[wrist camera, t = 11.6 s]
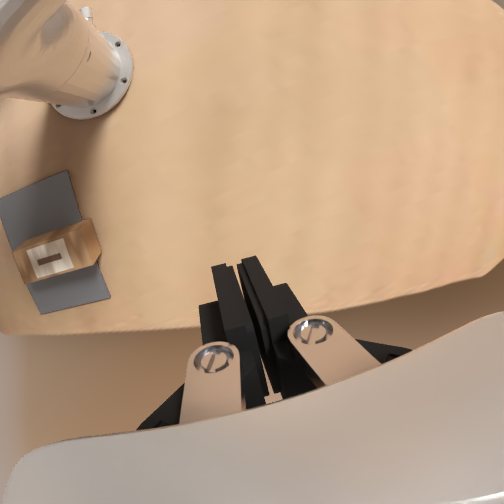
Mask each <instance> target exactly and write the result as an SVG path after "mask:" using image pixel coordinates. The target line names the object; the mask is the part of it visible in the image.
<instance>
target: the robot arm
mask: <svg viewBox="0 0 504 504" xmlns="http://www.w3.org/2000/svg"><path fill="white" fill-rule="evenodd" d="M66 1H67V0H0V98H15V99H24V100H31V101H38V102H45V103H51V104H52V106H53V107H54V108H55V110H56V111H58V112H59V113H60V114H62V115H63V116H66V117H68V118H72V119H79V120H84V119H91V118H95V117H98V116H100V115H102V114H104V113H106V112H107V111H109V110H110V109H112V108H113V107H114V106H115V105H116V104H117V103H118V102H119V101H120V100H121V99H122V97H123V96H124V95H125V93H126V91H127V89H128V87H129V86H130V83H131V80H132V76H133V69H134V68H133V58H132V55H131V52H130V50H129V48H128V46H127V45H126V44H125V43H124V41H122V40H121V39H120V38H119V37H117V36H116V35H114V34H112V33H108V32H101V31H97V29H96V26H95V25H93V23H92V19H93V14H92V8H91V7H85V8H82V9H80V10H78V9H77V8H76V7H75V6H73V5H72V4H70V3H69V2H66ZM119 44H120V46H119V47H117V46H118V45H119ZM124 80H126V83H123V81H124ZM60 105H61V107H60ZM94 110H96V113H94ZM241 261H242V263H240V264H237V269H238V273H239V278H240V282H241V287H242V291H243V295H244V298H243V295H242V292H241V289H240V286H239V283H238V281H237V278H236V275H235V272H234V269H233V266H229V267H227V266H226V263H224V264H220V265H217V266H213V267H211V268H212V273H213V278H214V283H215V288H216V293H217V298H218V301H214V302H210V303H206V304H202V305H199V314H200V324H201V333H202V341H203V346H201V347H199V348H198V349H197V350H195V351H194V352H193V353H192V355H191V356H190V358H189V361H188V365H187V372H186V379H185V383H184V384H183V385H182V386H181V387H180V388H179V389H178V390H177V391H176V392H174V393H173V394H172V395H171V396H170V397H169V398H168V399H167V400H166V401H165V402H164V403H163V404H162V405H161V406H160V407H159V408H158V409H157V410H155V411H154V412H153V413H152V414H151V415H150V416H149V417H148V418H147V419H146V420H145V421H144V422H143V423H142V424H141V425H140V426H139V427H138V428H137V430H136V431H128V432H121V433H120V432H119V433H112V434H104V435H95V436H85V437H78V438H71V439H65V440H61V441H58V442H53V443H50V444H47V445H45V446H42V447H39V448H37V449H35V450H33V451H31V452H29V453H28V454H26V455H25V456H23V457H22V458H21V459H20V460H19V461H18V463H17V464H16V466H15V467H14V469H13V471H12V473H11V475H10V478H9V480H8V483H7V486H6V489H5V493H4V496H3V500H2V504H504V311H503V312H497V313H495V314H491V315H488V316H484V317H482V318H479V319H477V320H474V321H472V322H470V323H468V324H466V325H464V326H462V327H460V328H458V329H456V330H454V331H452V332H450V333H448V334H446V335H443V336H441V337H440V338H437V339H436V340H434V341H432V342H429V343H427V344H426V345H423V346H421V347H419V348H417V349H415V350H411V349H407V348H403V347H396V346H390V345H384V344H379V343H374V342H368V341H363V340H357V339H353V338H352V337H351V336H350V335H349V334H348V333H347V332H346V331H345V330H344V329H343V328H341V326H339V325H338V324H337V323H336V322H335V321H333V320H332V319H330V318H328V317H325V316H317V315H315V316H308V315H307V314H306V312H305V311H304V309H303V308H302V306H301V304H300V303H299V301H298V300H297V298H296V297H295V295H294V294H293V292H292V291H291V289H290V287H289V286H288V284H287V283H283V284H280V285H276V286H273V285H272V284H271V282H270V280H269V278H268V276H267V275H266V273H265V271H264V269H263V267H262V266H261V264H260V262H259V260H258V258H257V257H256V256H252V257H248V258H244V259H241ZM260 355H261V357H260ZM261 358H262V361H263V363H264V366H265V369H266V372H267V375H268V377H269V380H270V383H271V386H272V389H273V391H274V393H279V392H281V395H282V398H283V400H280V401H276V402H272V403H269V404H266V402H265V399H264V397H265V396H268V395H269V391H268V387H267V382H266V378H265V374H264V370H263V365H262V361H261Z"/></svg>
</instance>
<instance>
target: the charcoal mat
mask: <svg viewBox="0 0 504 504" xmlns="http://www.w3.org/2000/svg"><path fill="white" fill-rule="evenodd" d="M0 217H1V220H2V224H3V226H4V229H5V232H6V235H7V238H8V241H9V243H10V246H11V249H12V251H14V250H15V249H16V248H18V247H19V246H20V245H21V244H22V243H24V242H25V241H26V240H28V239H31V238H34V237H37V236H39V235H42V234H45V233H48V232H51V231H54V230H57V229H60V228H63V227H66V226H69V225H72V224H75V223H78V222H81V221H82V218H81V214H80V211H79V208H78V205H77V201H76V198H75V195H74V191H73V188H72V184H71V180H70V177H69V173H68V170H67V171H64V172H62V173H59V174H57V175H54V176H52V177H49V178H47V179H44V180H42V181H39V182H37V183H34V184H32V185H30V186H27V187H25V188H23V189H21V190H18V191H16V192H14V193H12V194H10V195H7V196H5V197H3V198H1V199H0ZM26 285H27V287H28V289H29V291H30V293H31V295H32V297H33V299H34V302H35V304H36V306H37V308H38V310H39V312H40V313H41V314H44V313H48V312H53V311H57V310H61V309H65V308H70V307H74V306H78V305H82V304H86V303H90V302H95V301H99V300H103V299H107V298H110V297H111V296H110V293H109V291H108V288H107V286H106V284H105V281H104V279H103V276H102V274H101V271H100V268H99V266H98V263H97V261H95V263H94V265H91V266H88V267H84V268H81V269H77V270H73V271H70V272H66V273H63V274H59V275H56V276H52V277H49V278H45V279H42V280H39V281H35V282H32V283H28V284H26Z"/></svg>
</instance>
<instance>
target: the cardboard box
mask: <svg viewBox="0 0 504 504" xmlns="http://www.w3.org/2000/svg"><path fill="white" fill-rule="evenodd" d="M101 252H102V249H101V246H100V244H99V241H98V238H97V235H96V232H95V229H94V226H93V223H92V220H91V218H90V219H87V220H84V221H81V222H78V223H75V224H72V225H69V226H66V227H63V228H60V229H57V230H54V231H51V232H48V233H45V234H42V235H39V236H37V237H34V238H31V239H28V240H26V241H25V242H24V243H22V244H21V245H20V246H19V247H18V248H16V249H15V250H14V251H13V252H12V254H13V257H14V259H15V262H16V264H17V267H18V269H19V271H20V274H21V276H22V278H23V280H24V283H25V284H28V283H32V282H35V281H39V280H42V279H45V278H49V277H52V276H56V275H59V274H63V273H66V272H70V271H73V270H77V269H81V268H84V267H88V266H91V265H94V263H95V261H96V260H97V258H98V256H99V255H100V253H101Z"/></svg>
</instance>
